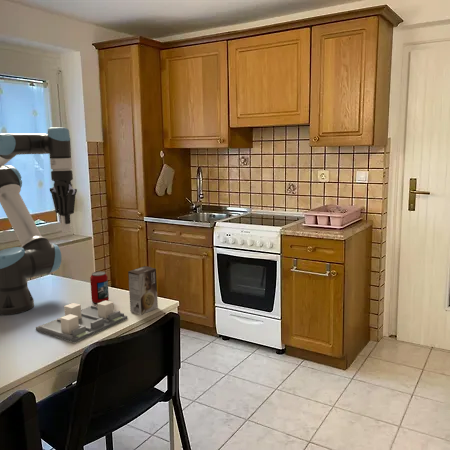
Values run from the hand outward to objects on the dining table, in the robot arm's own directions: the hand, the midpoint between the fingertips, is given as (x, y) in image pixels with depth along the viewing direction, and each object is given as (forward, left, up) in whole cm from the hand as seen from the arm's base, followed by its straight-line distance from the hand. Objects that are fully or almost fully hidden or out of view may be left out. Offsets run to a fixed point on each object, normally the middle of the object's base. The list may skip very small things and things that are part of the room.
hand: (66, 232), depth 172 cm
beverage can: (+4, +11, -31) cm, 33 cm away
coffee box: (+26, +13, -31) cm, 42 cm away
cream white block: (+20, -1, -29) cm, 36 cm away
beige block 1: (+12, -9, -29) cm, 33 cm away
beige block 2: (+20, -17, -29) cm, 39 cm away
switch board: (+17, -9, -30) cm, 36 cm away
